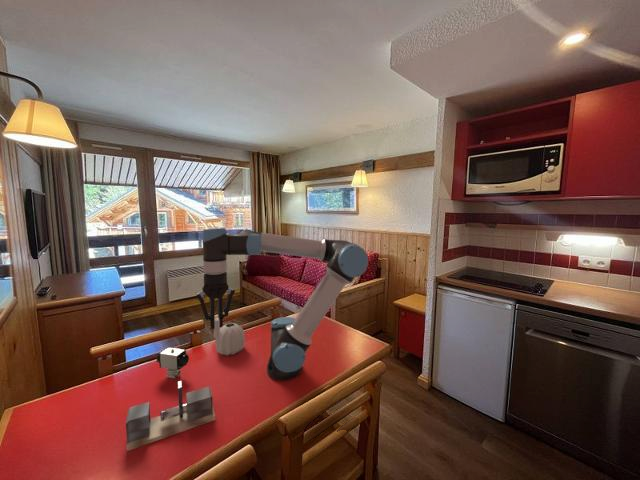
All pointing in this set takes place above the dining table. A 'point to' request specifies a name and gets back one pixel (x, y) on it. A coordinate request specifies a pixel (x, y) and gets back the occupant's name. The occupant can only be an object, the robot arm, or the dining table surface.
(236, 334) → the vase
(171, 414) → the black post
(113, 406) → the dining table surface
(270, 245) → the robot arm
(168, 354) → the pneumatic valve
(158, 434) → the base
